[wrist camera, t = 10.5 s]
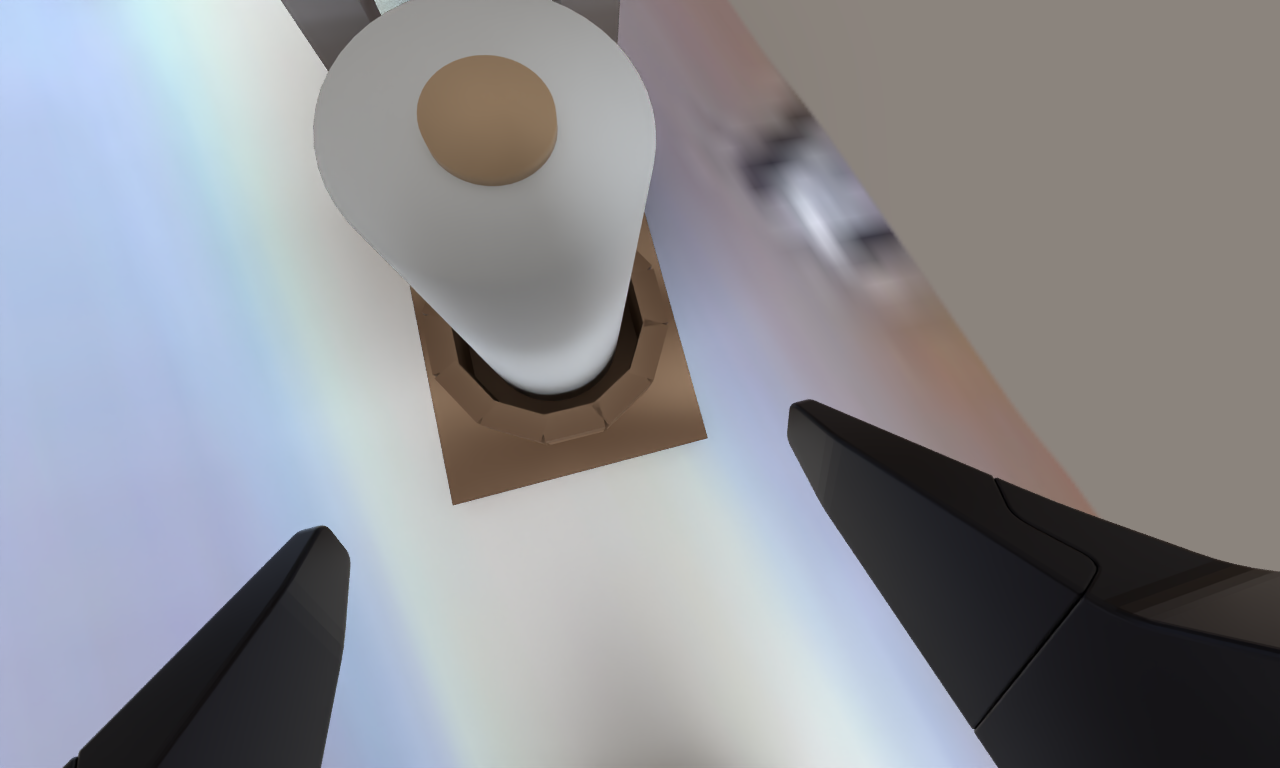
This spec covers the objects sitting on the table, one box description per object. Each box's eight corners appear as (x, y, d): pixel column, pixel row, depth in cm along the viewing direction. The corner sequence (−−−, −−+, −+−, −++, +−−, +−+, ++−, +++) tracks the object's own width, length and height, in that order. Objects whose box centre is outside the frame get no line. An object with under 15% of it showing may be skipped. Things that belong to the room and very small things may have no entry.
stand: (702, 439, 22) (905, 389, 8) (459, 503, 20) (155, 588, 6) (626, 168, 24) (678, -264, 10) (401, 207, 22) (71, -240, 8)
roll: (642, 333, 21) (724, 114, 8) (557, 427, 20) (494, 350, 7) (549, 254, 21) (482, -84, 8) (460, 342, 20) (220, 112, 7)
